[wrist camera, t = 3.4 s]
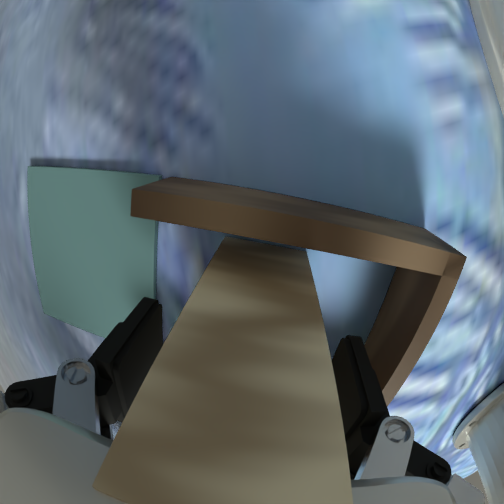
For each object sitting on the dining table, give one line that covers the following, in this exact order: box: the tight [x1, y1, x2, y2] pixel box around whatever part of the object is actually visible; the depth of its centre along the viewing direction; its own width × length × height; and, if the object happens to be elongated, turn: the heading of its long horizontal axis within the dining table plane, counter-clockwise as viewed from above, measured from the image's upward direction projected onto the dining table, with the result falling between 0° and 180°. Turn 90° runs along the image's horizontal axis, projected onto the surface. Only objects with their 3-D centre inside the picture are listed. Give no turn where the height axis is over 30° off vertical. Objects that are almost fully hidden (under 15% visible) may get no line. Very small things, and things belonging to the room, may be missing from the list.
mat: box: [28, 166, 162, 338], centre depth 15 cm, size 10×11×1 cm
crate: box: [130, 177, 467, 406], centre depth 13 cm, size 13×11×4 cm
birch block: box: [92, 236, 353, 504], centre depth 9 cm, size 4×6×12 cm, turn 171°
